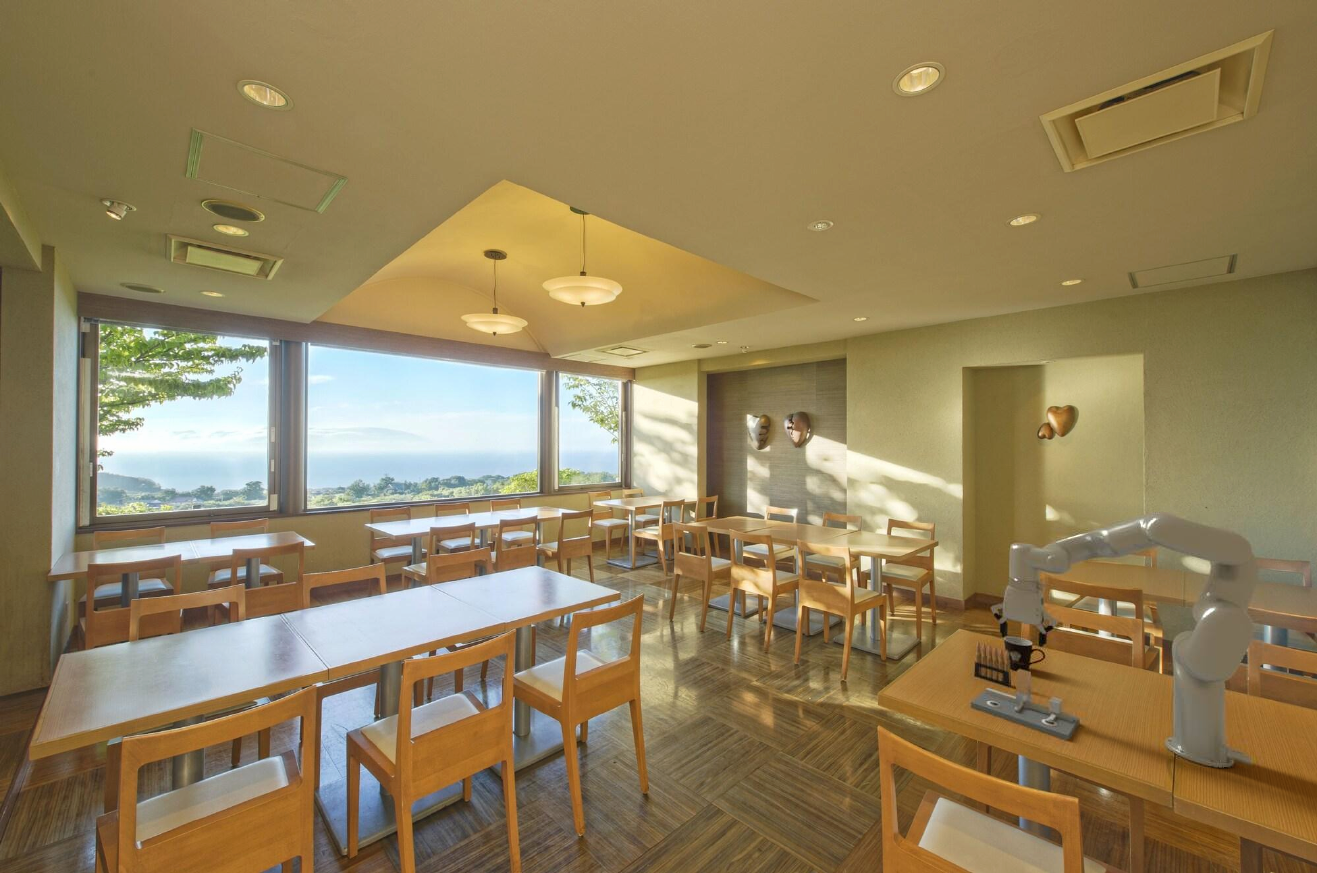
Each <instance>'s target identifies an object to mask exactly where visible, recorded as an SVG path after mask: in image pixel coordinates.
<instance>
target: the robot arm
mask: <svg viewBox="0 0 1317 873" xmlns="http://www.w3.org/2000/svg"><path fill="white" fill-rule="evenodd" d="M1156 547H1162V548H1165V549H1169V550H1171V551H1174V552H1177V553H1181V554H1184V555H1188V556H1191V557H1195V558H1199V559H1201V560H1205V561H1209V563H1210V570H1209V574H1208V577H1207V579H1206V582H1205V584H1204V586H1203V588H1202V590H1201V592H1200V594H1199V596H1198V598H1197V600H1196V602H1195V604H1194V605H1193V607H1192V616H1193V619H1194V620H1195V622H1196V626H1195V628H1194V630H1185V631H1182V632H1180V633H1179V634H1177V635H1176V636H1175V637H1174V639H1173V641H1172V644H1171V655H1172V656H1171V657H1172V666H1173V736H1169V737H1167V738H1166V739H1165V746H1166V748H1168V750H1170V751H1171V752H1172V751H1173V752H1172V753H1173V754H1176V755H1178V756H1179V757H1182V758H1183V759H1186V760H1188V761H1191V762H1194V763H1197V764H1201V765H1204V766H1207V767H1212V766H1213V768H1218V767H1219V768H1220V769H1225V768H1224V767H1229V768H1231V767H1230V766H1232V765H1233V764H1235V761H1238V762H1240V763H1243V764H1246V765H1250V766H1252V756H1249V755H1246V754H1245V752H1244V751H1241V750H1238V749H1234V748H1232V747H1231V746H1228V740H1226V681H1227V680H1229V679H1230V678H1232V677H1233V675H1234V674H1235V673H1236V671H1237V670H1238V668H1239V666H1240V665H1241V662H1242V661H1243V659H1244V656H1245V654H1246V653H1247V651H1248V648H1249V647H1250V645H1251V643H1252V640H1253V638H1254V635H1255V623H1254V621H1253V619H1252V618H1251V616H1250V615H1249V614H1248V613H1247V611H1248V609H1249V607H1250V605H1251V603H1252V600H1253V598H1254V595H1255V593H1256V591H1257V589H1258V588H1257V587H1258V585H1259V582H1260V570H1259V568H1260V567H1259V564H1258V561H1257V559H1256V557H1255V554H1254V553H1253V548H1252V547H1253V546H1252V545H1251V543H1250V542H1249V540H1247V538H1246V537H1245V536H1243V535H1242V534H1239V533H1237V532H1236V531H1233V530H1231V529H1229V528H1226V527H1223V526H1217V525H1215V526H1213V525H1212V526H1210V525H1205V524H1201V523H1198V522H1196V521H1192V520H1188V519H1184V518H1181V517H1178V516H1175V515H1174V514H1172V513H1169V512H1165V511H1155V512H1151V513H1147V514H1143V515H1141V516H1137V517H1134V518H1130V519H1128V520H1124V521H1122V522H1119V523H1115V524H1112V525H1109V526H1105V527H1102V528H1098V529H1094V530H1091V531H1089V532H1085V533H1084V532H1083V533H1081V534H1077V535H1073V536H1070V537H1066V538H1063V539H1060V540H1057V541H1054V542H1051V543H1049V544H1047V545H1045V546H1043V547H1038V546H1037V545H1034V544H1030V543H1025V542H1024V543H1023V542H1015V543H1012V544H1010V547H1009V568H1008V570H1009V571H1008V576H1009V577H1008V585H1007V586H1006V588H1005V592H1004V597H1003V602H1002V603H999V604H995V605H992V606H990V609H991V612H992V614H993V617H994V618H996V620H997V621H998V623H999V633H1000V634H1001V637H1002V638H1004V637H1008V622H1007V621H1008V620H1010V621H1014V622H1018V623H1022V624H1027V625H1031V626H1036V628H1037V629H1038V630H1039V631H1040V632H1039V633H1038V646H1039V647H1040V648H1043V646H1045V645H1046V644H1047V639H1048V638H1047V636H1048V635H1047V634H1048V633H1049V632H1050V631H1053V629H1055V627H1056V626H1057V625H1058V623H1059V620H1058V619H1056V618H1055V617H1054V616H1052V615H1050V613H1049V614H1048V613H1047V612H1046V611H1045V600H1044V594H1043V591H1042V590H1045V584H1043V583H1041V581H1040V571H1041V572H1045V573H1048V574H1052V575H1053V574H1054V575H1063V574H1065V573H1068V572H1069V571H1070V570H1071V569H1072V566H1073V564H1077V563H1080V562H1084V561H1088V560H1092V559H1098V558H1100V559H1101V558H1109V559H1114V558H1121V557H1126V556H1128V555H1132V554H1134V553H1138V552H1142V551H1145V550H1149V549H1153V548H1156ZM1040 589H1041V590H1040ZM1001 609H1002V615H1001V614H1000V612H999V610H1001ZM1046 620H1047V621H1049V622H1050V623H1049V625H1047V626H1046V625H1045V623H1044V622H1045V621H1046ZM1233 766H1234V765H1233ZM1233 766H1232V767H1233ZM1222 767H1223V768H1222Z"/></svg>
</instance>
